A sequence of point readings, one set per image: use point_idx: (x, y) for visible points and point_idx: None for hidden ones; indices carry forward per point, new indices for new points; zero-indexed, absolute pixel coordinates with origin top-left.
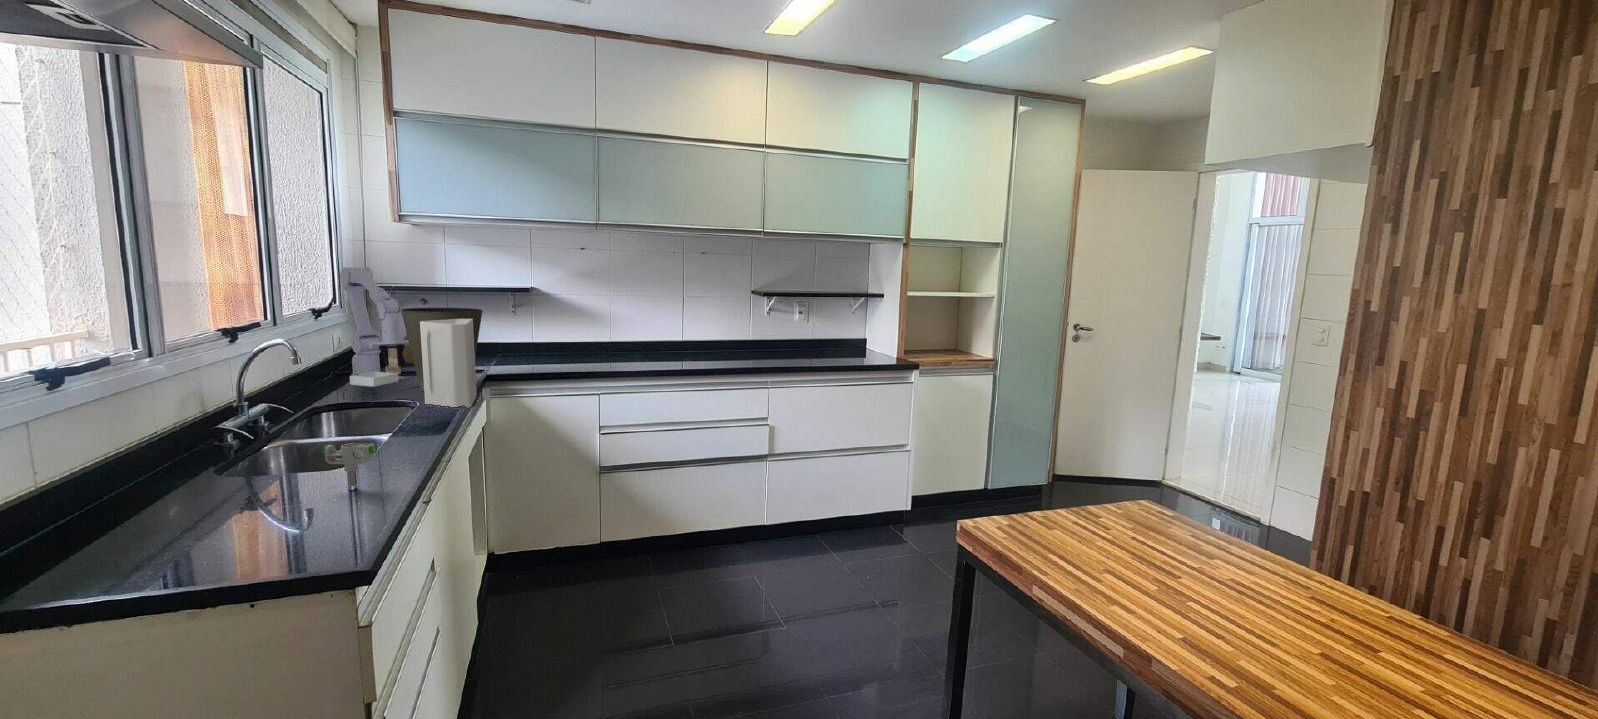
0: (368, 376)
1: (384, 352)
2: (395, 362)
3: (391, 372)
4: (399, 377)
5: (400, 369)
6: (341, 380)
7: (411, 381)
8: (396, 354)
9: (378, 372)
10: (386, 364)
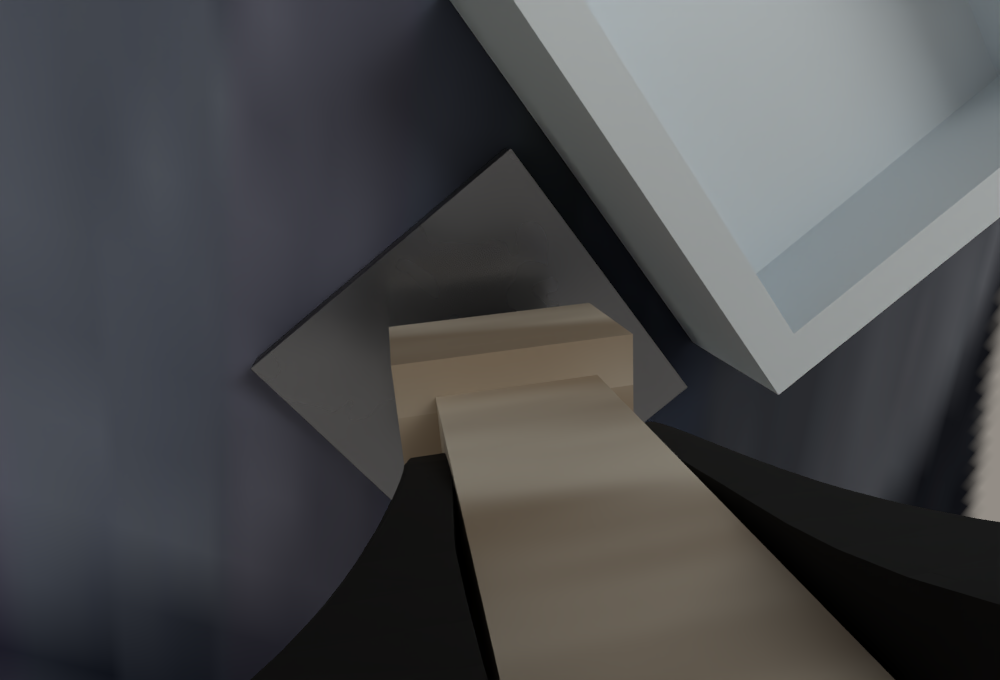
0: (859, 237)
1: (974, 531)
2: (497, 440)
3: (543, 316)
4: None
5: (391, 352)
6: None
7: (240, 106)
8: (502, 582)
9: (754, 271)
10: None
